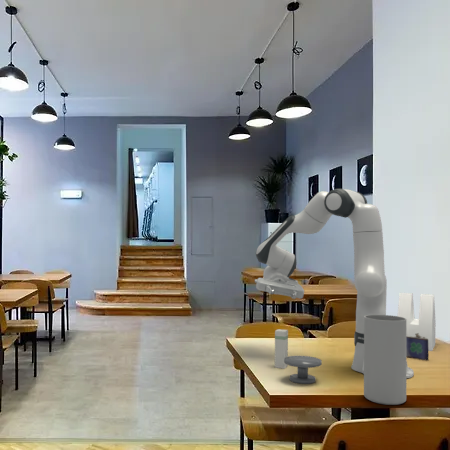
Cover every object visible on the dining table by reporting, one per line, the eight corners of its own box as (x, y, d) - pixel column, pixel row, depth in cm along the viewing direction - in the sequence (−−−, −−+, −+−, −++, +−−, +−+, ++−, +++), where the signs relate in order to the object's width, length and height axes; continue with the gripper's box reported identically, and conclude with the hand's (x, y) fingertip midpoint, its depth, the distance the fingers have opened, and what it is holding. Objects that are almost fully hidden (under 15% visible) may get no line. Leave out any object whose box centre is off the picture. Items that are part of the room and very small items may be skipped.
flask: (405, 357, 201) (405, 332, 201) (407, 356, 203) (407, 331, 204) (427, 360, 195) (427, 335, 195) (429, 359, 197) (429, 334, 198)
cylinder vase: (357, 392, 150) (358, 314, 152) (395, 392, 151) (395, 314, 152) (372, 405, 138) (373, 320, 139) (413, 405, 139) (413, 321, 140)
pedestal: (324, 377, 166) (325, 358, 167) (316, 387, 155) (317, 366, 155) (289, 373, 172) (289, 354, 172) (279, 382, 160) (279, 361, 160)
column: (287, 366, 182) (288, 330, 182) (284, 368, 178) (285, 331, 179) (277, 364, 183) (278, 329, 184) (274, 367, 180) (274, 330, 180)
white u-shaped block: (432, 351, 214) (432, 296, 215) (396, 347, 221) (396, 294, 222) (435, 344, 231) (435, 293, 232) (402, 340, 238) (402, 291, 239)
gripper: (255, 271, 200) (260, 282, 187) (301, 281, 202) (308, 292, 189) (252, 285, 201) (256, 297, 188) (297, 294, 203) (304, 306, 190)
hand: (283, 294), depth 188 cm, fingers open, 8 cm apart
